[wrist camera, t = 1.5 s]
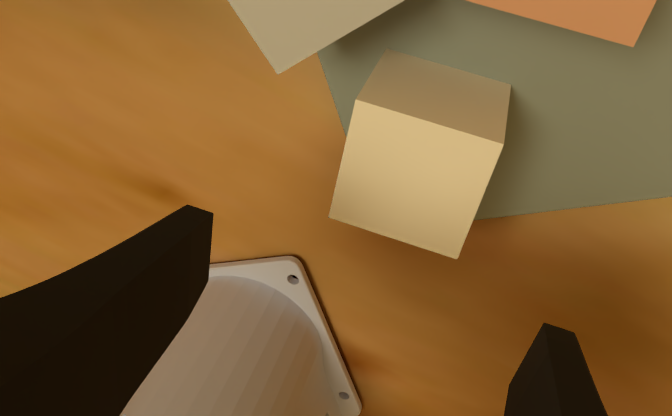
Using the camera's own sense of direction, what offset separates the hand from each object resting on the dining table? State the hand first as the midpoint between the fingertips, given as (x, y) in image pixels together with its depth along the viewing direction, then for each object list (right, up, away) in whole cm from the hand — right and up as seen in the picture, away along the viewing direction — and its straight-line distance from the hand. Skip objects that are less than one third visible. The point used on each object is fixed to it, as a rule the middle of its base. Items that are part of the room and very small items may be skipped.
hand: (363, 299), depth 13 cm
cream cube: (+3, +5, +7) cm, 9 cm away
